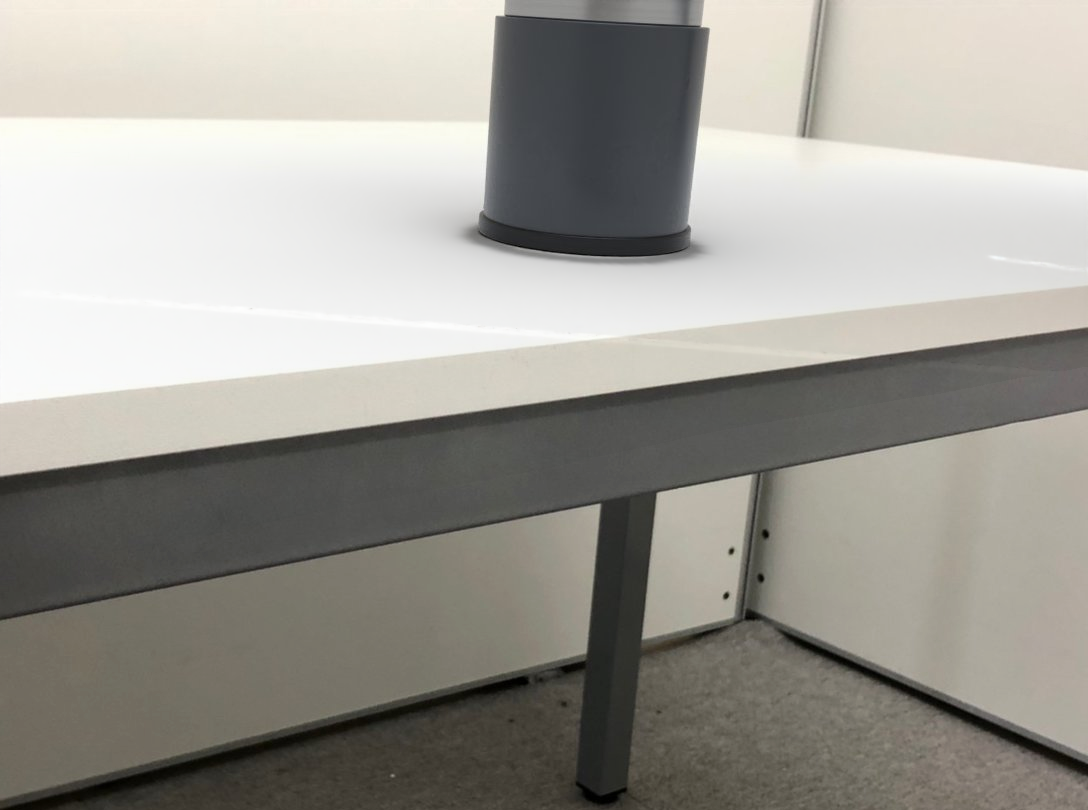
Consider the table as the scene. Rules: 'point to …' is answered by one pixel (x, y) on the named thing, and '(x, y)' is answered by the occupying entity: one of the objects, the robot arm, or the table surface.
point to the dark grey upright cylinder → (594, 125)
